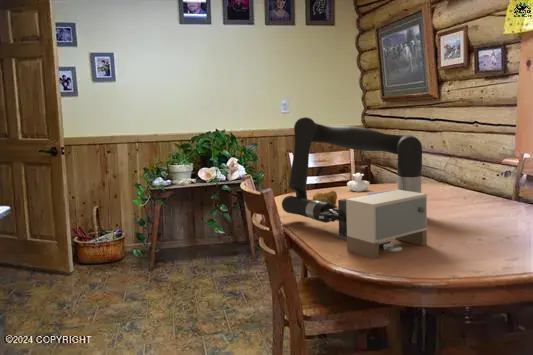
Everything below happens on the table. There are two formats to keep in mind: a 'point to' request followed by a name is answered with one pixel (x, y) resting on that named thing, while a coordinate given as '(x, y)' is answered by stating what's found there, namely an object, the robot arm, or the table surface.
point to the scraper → (343, 225)
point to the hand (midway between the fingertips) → (350, 218)
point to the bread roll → (326, 197)
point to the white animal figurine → (358, 183)
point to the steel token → (392, 247)
